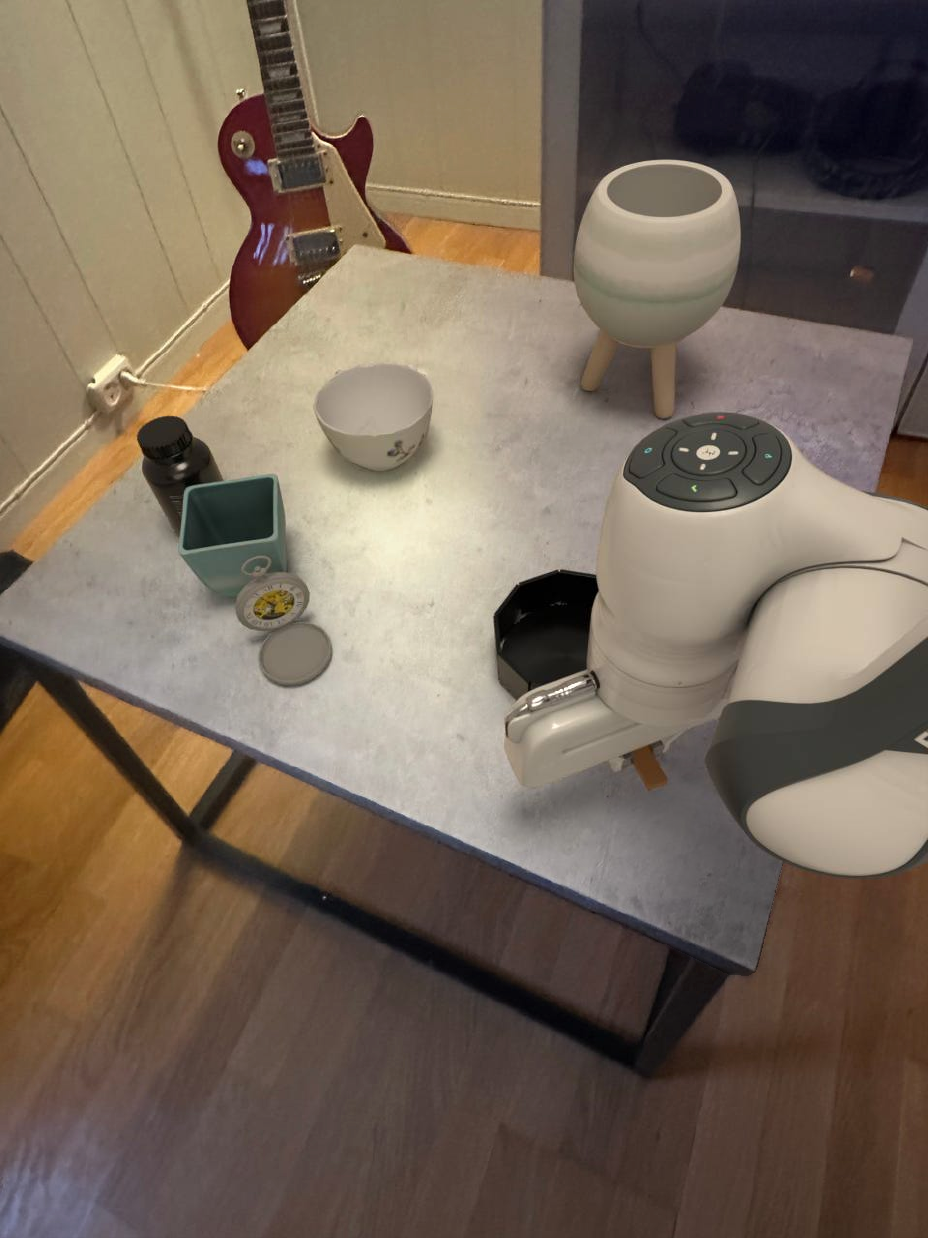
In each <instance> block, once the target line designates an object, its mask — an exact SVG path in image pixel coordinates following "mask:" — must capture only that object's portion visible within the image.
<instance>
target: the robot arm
mask: <svg viewBox="0 0 928 1238" xmlns="http://www.w3.org/2000/svg"><path fill="white" fill-rule="evenodd" d="M602 517H603V518H602V523H601V529H600V535H599V542H598V548H597V556H596V564H595V575H596V579H597V584H598V589H599V591H598V593H597V595H596V597H595V600H594V603H593V607H592V613H591V622H590V631H589V641H588V651H587V669H586V670H584V671H581V672H578V673H576V674H573V675H570V676H568V677H565V678H562V679H559V680H557V681H554V682H551V683H549V684H546V685H543V686H540V687H538V688H536V689H533V690H531V691H529V692H527V693H526V694H524V695H523V696H521V697H520V698H519V699H518V700H517V699H516V701H515V702H514V704H513V705H512V707H511V708H510V711H508V712H507V713H506V714H505V716H504V719H503V722H504V724H503V725H504V726H503V727H504V738H503V739H504V740H503V741H504V742H503V746H504V747H503V749H504V753H505V756H506V758H507V761H508V762H509V765H510V767H511V770H512V772H513V773H514V776H515V778H516V781H518V783H519V785H520V786H521V787H523V788H526V789H532V790H535V789H539V788H543V787H545V786H547V785H549V784H552V783H555V782H557V781H559V780H562V779H565V778H567V777H570V776H572V775H576V774H578V773H580V772H583V771H585V770H588V769H590V768H592V767H595V766H599V765H601V764H603V763H606V762H608V764H609V765H610V768H611V770H612V771H613V772H617V771H620V770H623V769H625V768H627V767H630V766H633V762H632V761H633V760H634V754H633V753H632V751H634V750H637V749H639V748H642V747H644V746H647V745H648V746H649V747H650V749H651V751H652V752H653V754H654V756H655V757H656V756H658V755H661V754H663V753H666V752H668V751H669V749H670V746H671V743H672V742H674V741H675V740H676V739H677V738H679V737H680V736H682V734H683V733H684V732H686V731H687V730H691V729H693V728H696V727H698V726H700V725H703V724H705V723H709V722H711V721H714V720H716V719H718V721H717V723H716V727H715V729H714V732H713V734H712V737H711V740H710V743H709V746H708V748H707V750H706V754H705V757H704V766H705V769H706V772H707V774H708V776H709V778H710V780H711V782H712V785H713V786H714V788H715V791H716V792H717V794H718V796H719V798H720V799H721V802H722V803H723V804H724V806H725V808H726V809H727V812H729V814H730V815H731V817H732V818H733V820H734V821H735V823H736V824H737V825H738V826H739V828H740V829H741V831H743V833H744V834H745V835H746V836H747V837H748V839H750V840H751V842H752V843H754V844H755V845H756V846H757V847H758V848H759V849H760V850H762V851H763V852H764V853H766V854H768V855H769V856H770V857H773V858H774V859H776V860H778V861H780V862H782V863H784V864H787V865H788V866H792V867H794V868H797V869H799V870H802V871H806V872H809V873H813V874H817V875H819V876H826V877H832V878H837V879H849V880H873V879H874V880H875V879H881V878H887V877H891V876H895V875H899V874H901V873H905V872H907V871H910V870H913V869H915V868H917V867H920V866H923V865H924V864H926V863H928V506H925V505H923V504H920V503H918V502H915V501H912V500H909V499H905V498H903V497H898V496H893V495H890V494H889V495H888V494H883V493H878V492H871V491H865V490H859V489H858V488H855V487H853V486H850V485H848V484H847V483H845V482H842V481H840V480H839V479H837V478H834V477H833V476H831V475H829V474H827V473H825V472H824V471H823V470H821V469H819V468H818V467H817V466H815V465H814V464H813V463H812V462H811V461H809V459H808V458H806V457H805V455H804V454H803V453H802V451H801V450H800V449H799V448H798V446H797V445H796V444H795V442H794V441H793V440H792V439H791V438H790V437H789V436H788V435H787V433H785V432H784V431H783V430H781V429H780V428H778V427H777V426H775V425H774V424H772V423H770V422H768V421H766V420H763V419H760V418H757V417H755V416H752V415H747V414H743V413H737V412H727V411H712V412H701V413H695V414H691V415H687V416H683V417H680V418H677V419H674V420H672V421H669V422H667V423H665V424H663V425H661V426H660V427H658V428H656V429H654V430H652V431H651V432H650V433H648V434H647V435H646V436H644V438H642V439H641V440H640V441H639V442H638V443H637V444H636V445H635V446H634V447H633V448H632V450H631V451H630V452H629V453H628V454H627V456H626V457H625V458H624V460H623V461H622V463H621V465H620V466H619V469H618V470H617V472H616V474H615V477H614V479H613V481H612V484H611V487H610V490H609V494H608V498H607V501H606V504H605V508H604V514H603V516H602Z"/></svg>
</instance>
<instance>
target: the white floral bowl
mask: <svg viewBox="0 0 928 1238" xmlns="http://www.w3.org/2000/svg"><path fill="white" fill-rule="evenodd" d="M334 373H335V374H334V375H333V376H332V377H331V378H330V379H328V380H326V381H325V383H324V384H323V386H322V387H321V388H320V389H319V390H318V391H317V392H316V394H315V397H314V401H313V402H314V403H313V406H312V408H313V412H314V416H315V417H316V420H317V422H318V424H319V428H321V430H322V432H323V434H324V435H325V437H326V438H327V440H328V442H329V443H330V444H331V445H332V447H333V448H334V449H335V450H336V451H337V452H338V453H339V454H340V455H341V456H342V457H344V458H345V459H347V460H348V461H350V462H351V463H354V464H355V465H358V466H360V467H363V468H365V469H367V470H370V471H373V472H386V471H391V470H394V469H397V468H399V467H400V466H401V465H402V464H404V463H406V462H407V461H408V460H409V458H411V457H412V456H413V455H414V454H415V453H416V451H418V449H419V448H420V447H421V445H422V443H423V442H424V440H425V438H426V436H427V433H428V430H429V427H430V424H431V419H432V415H433V404H434V391H433V387H432V383H431V381H430V380H429V378H427V376H426V375H425V374H424V373H423V372H420V371H419V370H418V369H415V368H413V367H411V366H409V365H407V364H403V363H398V362H394V361H391V362H390V361H389V362H388V361H387V362H386V361H385V362H384V361H383V362H382V361H381V362H380V361H379V362H378V361H377V362H376V361H375V362H373V363H371V364H368V365H365V364H362V365H361V364H360V365H359V364H358V365H355V366H350V367H348V368H346V369H338V370H336V371H335V372H334Z"/></svg>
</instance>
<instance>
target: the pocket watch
mask: <svg viewBox="0 0 928 1238" xmlns="http://www.w3.org/2000/svg"><path fill="white" fill-rule="evenodd" d="M260 558H263V559H266V560H267V561H268V565H267V566H266V568H260V567H259V566H257V567H255V571H254V572H253V573H247V572H246V571H245V570H244V569H245V566H246V565H247V564H248V563H249V562H250V561H252V560H254V559H260ZM270 565H271V559H270V558H269V557H267V556H256V557H253V558H251V559H249V560H247V561H246V562H245V563H244V564H243V566H242V567H241V571H242V573H243V574H244V575H247V576H253V577H256V579H254V580H252V581H251V582H249V583H248V584H247V585H246V586H245V587H244V588H243V589H242V590H241V591H240V593H239V594H238V596H236V599H235V604H234V605H235V606H234V608H235V615H236V618H237V620H238V621H239V623H240V624H241V625H242V626H244V627H246V628H247V629H249V630H253V631H258V632H265V631H266V632H267V631H272V632H271V633H269V634H268V636H266V637H265V639H264V640H263V642H262V643H261V646H260V648H259V650H258V658H257V659H258V665H259V667H260V671H262V673H263V674H264V676H265V677H266V678H268V680H269V681H272V682H275V683H277V684H279V685H286V686H295V685H300V684H303V683H306V682H309V681H310V680H312V679H314V678H316V677H317V676H319V674H321V673H322V672H323V671H324V670H325V668H326V667H327V666H328V664H329V662H330V660H331V656H332V651H333V650H332V649H333V648H332V641H331V639H330V637H329V634H328V633H327V632H326V631H325V629H323V628H322V627H321V626H320V625H317V624H315V623H314V622H313V623H312V622H308V621H296V620H297V619H298V618H299V617H301V616H302V615H303V613H304V612H305V611H306V610H307V608H308V605H309V602H310V597H311V592H310V589H309V587H308V585H307V584H306V583H305V581H304V580H303V579H302V578H300V577H299V576H298V575H295V574H293V573H291V572H287V571H286V572H274V573H269V574H266V571H267V569H268V568H269V567H270ZM289 596H290V598H288V597H289ZM267 608H268V609H269V610H267ZM266 610H267V611H266ZM295 621H296V622H295Z"/></svg>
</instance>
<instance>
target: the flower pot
mask: <svg viewBox="0 0 928 1238" xmlns="http://www.w3.org/2000/svg"><path fill="white" fill-rule="evenodd" d="M285 511H286V510H285V506H284V501H283V496H282V491H281V486H280V481H279V478H278V475H277V474H276V473H265V474H259V475H254V476H247V477H240V478H233V479H226V480H224V481H220V482H213V483H208V484H199V485H194V486H190V487H187V488H186V489H185V491H184V498H183V511H182V522H181V530H180V536H179V539H178V545H177V547H178V548H177V551H178V555H180V557H181V559H182V560H183V561H184V562H185V564H186V565H187V566H188V568H189V569H190V570H191V571H192V572H193V574H194V575H195V576H196V577H197V579H198V580H199V581H200V583H202V584H203V585H204V586H205V587H206V588H208V589H210V590H211V591H213V592H215V593H217V594H220V595H223V596H228V597H230V598H231V597H232V598H235V597H236V598H237V596H238V594H239V593H240V591H241V590H242V589H243V588H244V587H245V586H246V585H247V584H248V583H249V582H251V581H252V580H254V579H256V577H253V576H247V575H244V574H243V573H242V571H241V567H242V566H243V564H244V563H245V562H246V561H247V560H249V559H251V558H253V557H256V556H267V557H269V558H270V559H271V565H270V567H269V568H268V569H267V571H266V574H269V573H274V572H286V573H287V521H286V519H287V518H286V512H285ZM267 565H268V561H267V560H266V559H263V558H260V559H254V560H252V561H250V562H249V563H248V564H247V565H246V566H245V569H244V570H245V571H246V572H247V573H253V572H254V571H255V567H257V566H259V567H260V568H266V566H267Z"/></svg>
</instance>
